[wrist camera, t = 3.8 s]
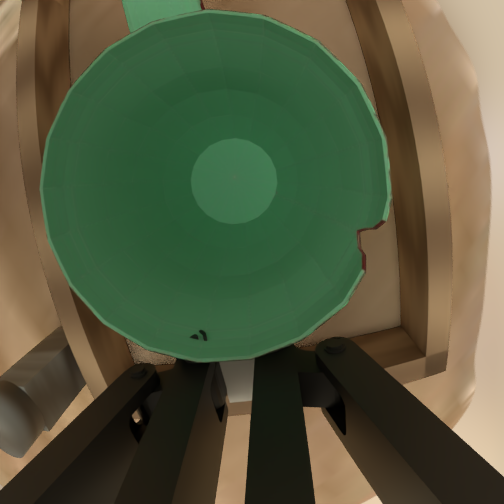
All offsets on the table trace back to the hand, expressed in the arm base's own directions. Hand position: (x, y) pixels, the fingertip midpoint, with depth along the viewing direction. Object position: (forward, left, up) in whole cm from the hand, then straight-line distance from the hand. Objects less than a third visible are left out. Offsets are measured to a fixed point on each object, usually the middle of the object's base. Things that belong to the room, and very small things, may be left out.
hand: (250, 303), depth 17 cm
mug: (-9, 0, -2) cm, 9 cm away
